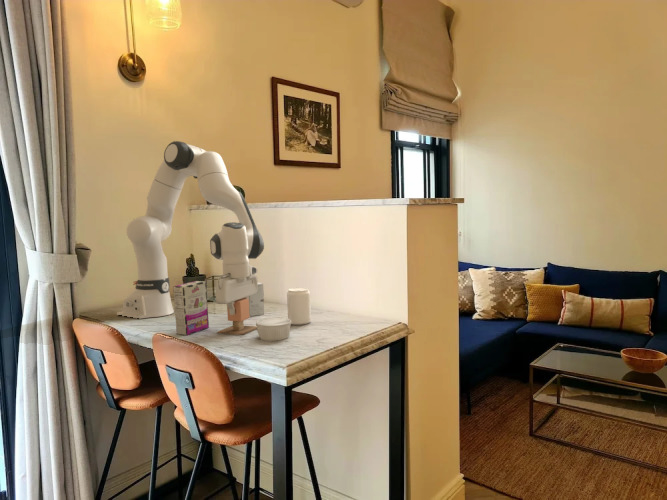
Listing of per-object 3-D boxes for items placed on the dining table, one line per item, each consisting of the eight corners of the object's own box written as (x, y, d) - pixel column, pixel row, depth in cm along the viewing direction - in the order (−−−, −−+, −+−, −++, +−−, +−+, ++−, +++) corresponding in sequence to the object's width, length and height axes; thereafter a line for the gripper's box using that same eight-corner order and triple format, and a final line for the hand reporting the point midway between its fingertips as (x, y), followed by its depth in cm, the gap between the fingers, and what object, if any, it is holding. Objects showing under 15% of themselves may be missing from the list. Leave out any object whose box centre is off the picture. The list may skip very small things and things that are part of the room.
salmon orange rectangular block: (241, 321, 169) (240, 301, 168) (227, 320, 171) (226, 301, 170) (249, 318, 174) (248, 298, 173) (236, 317, 176) (235, 298, 175)
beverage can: (299, 326, 176) (297, 292, 174) (283, 323, 181) (282, 289, 180) (315, 322, 181) (314, 288, 180) (299, 319, 187) (298, 286, 186)
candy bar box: (198, 326, 180) (195, 280, 178) (209, 328, 177) (206, 281, 176) (175, 334, 170) (172, 285, 168) (186, 335, 167) (183, 286, 166)
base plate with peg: (217, 333, 170) (216, 314, 169) (234, 326, 179) (233, 308, 178) (242, 335, 166) (242, 316, 165) (258, 328, 175) (258, 310, 174)
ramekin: (286, 342, 156) (286, 325, 156) (251, 341, 158) (250, 325, 158) (295, 333, 167) (295, 317, 167) (262, 332, 169) (262, 317, 168)
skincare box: (250, 316, 194) (249, 284, 193) (245, 314, 198) (244, 283, 197) (265, 314, 197) (263, 283, 196) (260, 312, 201) (258, 281, 200)
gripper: (226, 276, 160) (228, 319, 161) (260, 267, 179) (261, 306, 180) (209, 275, 162) (212, 318, 164) (244, 267, 181) (246, 305, 182)
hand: (238, 312), depth 172 cm, fingers closed on salmon orange rectangular block, 5 cm apart
